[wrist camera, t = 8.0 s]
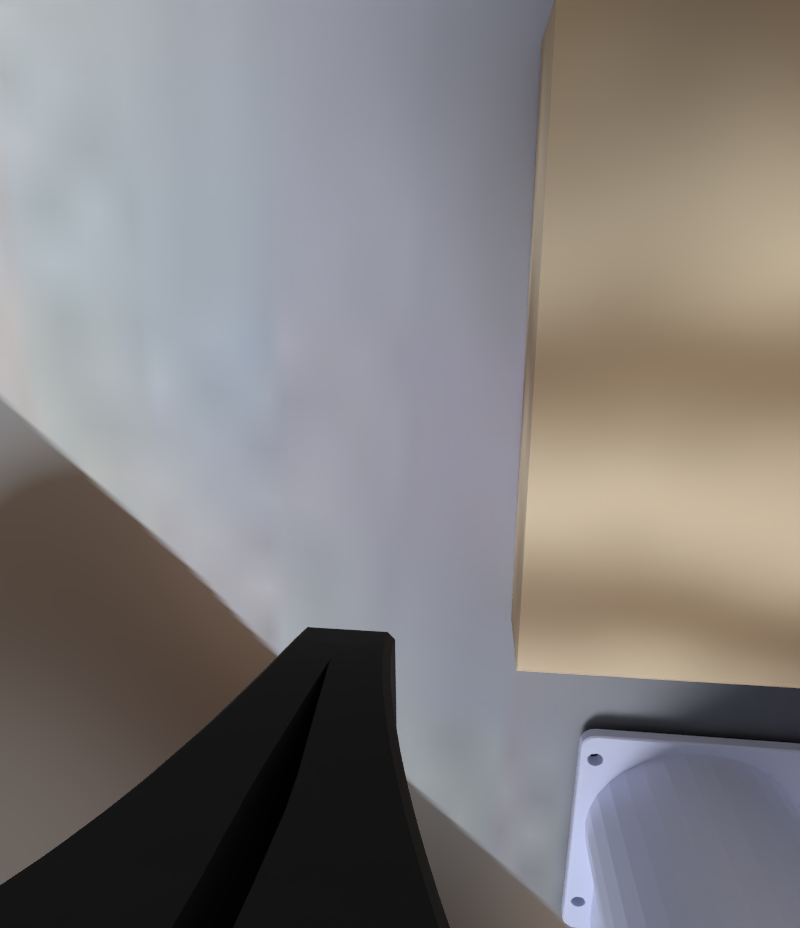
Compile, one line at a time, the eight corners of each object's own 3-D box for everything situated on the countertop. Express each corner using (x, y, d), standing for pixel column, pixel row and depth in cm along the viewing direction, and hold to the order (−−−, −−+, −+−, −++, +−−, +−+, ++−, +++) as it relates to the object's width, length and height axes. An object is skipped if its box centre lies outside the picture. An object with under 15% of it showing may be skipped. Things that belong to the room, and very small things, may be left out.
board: (912, 640, 17) (981, 699, 15) (511, 619, 19) (516, 670, 17) (1121, 3, 12) (1277, -59, 10) (542, 40, 14) (556, -6, 11)
